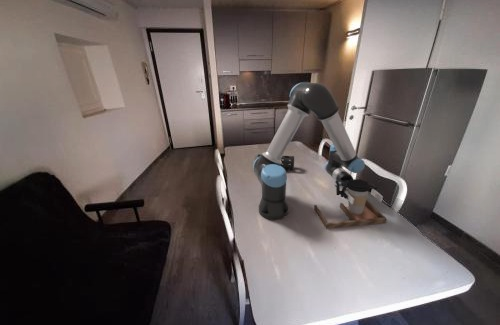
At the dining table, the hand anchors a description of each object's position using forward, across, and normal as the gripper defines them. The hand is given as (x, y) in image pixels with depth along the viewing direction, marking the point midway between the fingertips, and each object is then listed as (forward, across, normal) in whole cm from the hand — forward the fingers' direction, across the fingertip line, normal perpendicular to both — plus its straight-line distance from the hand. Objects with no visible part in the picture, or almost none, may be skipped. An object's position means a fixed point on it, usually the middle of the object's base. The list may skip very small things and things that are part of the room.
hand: (367, 200), depth 88 cm
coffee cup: (-4, +1, -9) cm, 10 cm away
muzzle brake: (-60, +30, -11) cm, 68 cm away
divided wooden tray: (-3, +5, -11) cm, 12 cm away
